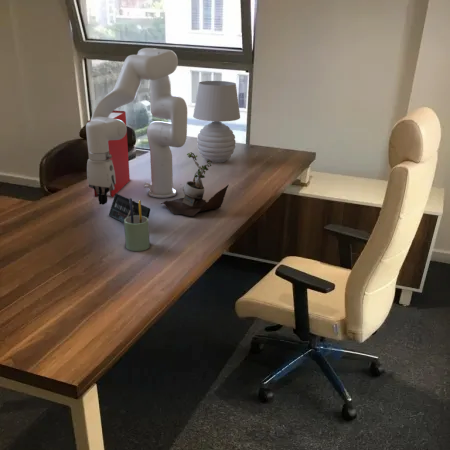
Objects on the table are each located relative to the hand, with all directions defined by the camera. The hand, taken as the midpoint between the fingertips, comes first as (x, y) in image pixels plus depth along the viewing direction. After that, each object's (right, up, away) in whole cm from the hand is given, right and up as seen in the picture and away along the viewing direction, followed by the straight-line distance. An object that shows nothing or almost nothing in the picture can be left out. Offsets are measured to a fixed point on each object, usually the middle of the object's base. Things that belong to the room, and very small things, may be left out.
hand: (103, 203), depth 202 cm
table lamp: (+43, +40, +87) cm, 105 cm away
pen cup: (+17, -19, -19) cm, 31 cm away
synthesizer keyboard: (+10, -8, +1) cm, 13 cm away
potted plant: (+34, +1, +17) cm, 38 cm away
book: (-4, +14, +39) cm, 42 cm away
